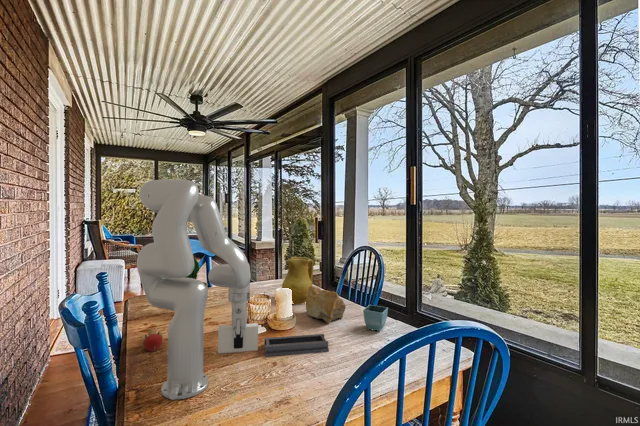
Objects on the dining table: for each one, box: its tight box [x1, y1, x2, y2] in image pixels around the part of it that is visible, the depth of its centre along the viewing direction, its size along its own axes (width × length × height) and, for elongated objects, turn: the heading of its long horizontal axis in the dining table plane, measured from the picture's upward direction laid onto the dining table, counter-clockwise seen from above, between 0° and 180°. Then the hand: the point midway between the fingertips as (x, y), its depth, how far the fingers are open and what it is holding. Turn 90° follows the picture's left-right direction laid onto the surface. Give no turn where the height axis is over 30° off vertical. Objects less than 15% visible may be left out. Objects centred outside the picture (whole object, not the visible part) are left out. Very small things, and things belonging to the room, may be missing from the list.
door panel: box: [217, 322, 259, 354], centre depth 117 cm, size 4×14×9 cm, turn 102°
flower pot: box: [362, 304, 389, 332], centre depth 139 cm, size 9×9×9 cm
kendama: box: [141, 328, 164, 352], centre depth 120 cm, size 8×6×18 cm
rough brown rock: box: [305, 285, 347, 324], centre depth 152 cm, size 23×17×15 cm
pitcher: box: [281, 256, 314, 305], centre depth 178 cm, size 17×19×25 cm
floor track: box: [263, 333, 330, 358], centre depth 119 cm, size 10×23×3 cm, turn 102°
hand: (238, 345), depth 116 cm, fingers closed on door panel, 3 cm apart
